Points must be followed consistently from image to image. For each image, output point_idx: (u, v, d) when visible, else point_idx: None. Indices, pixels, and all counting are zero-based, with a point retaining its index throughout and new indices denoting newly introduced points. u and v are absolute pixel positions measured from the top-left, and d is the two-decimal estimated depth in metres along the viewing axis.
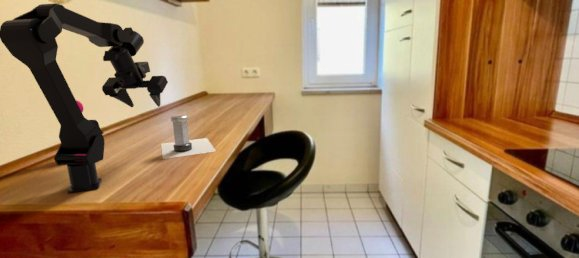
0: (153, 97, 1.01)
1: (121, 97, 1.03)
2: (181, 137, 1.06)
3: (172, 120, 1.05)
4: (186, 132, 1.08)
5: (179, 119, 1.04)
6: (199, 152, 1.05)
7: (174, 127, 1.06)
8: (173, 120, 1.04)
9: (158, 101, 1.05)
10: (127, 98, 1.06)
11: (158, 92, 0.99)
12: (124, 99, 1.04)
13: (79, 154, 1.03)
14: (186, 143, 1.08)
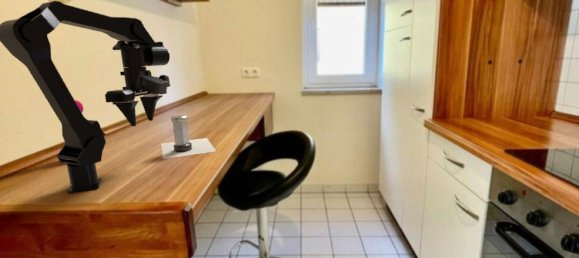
0: None
1: (142, 102, 0.97)
2: (181, 137, 1.06)
3: (172, 120, 1.05)
4: (186, 132, 1.08)
5: (179, 119, 1.04)
6: (199, 152, 1.05)
7: (174, 127, 1.06)
8: (173, 120, 1.04)
9: (128, 118, 0.89)
10: (149, 108, 0.97)
11: None
12: (144, 106, 0.97)
13: None
14: (186, 143, 1.08)
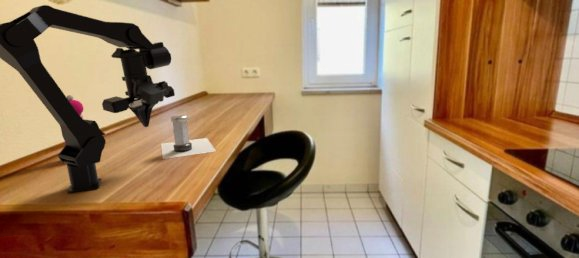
0: None
1: None
2: (181, 137, 1.06)
3: (172, 120, 1.05)
4: (186, 132, 1.08)
5: (179, 119, 1.04)
6: (199, 152, 1.05)
7: (174, 127, 1.06)
8: (173, 120, 1.04)
9: (139, 119, 0.94)
10: (144, 114, 0.94)
11: None
12: None
13: None
14: (186, 143, 1.08)
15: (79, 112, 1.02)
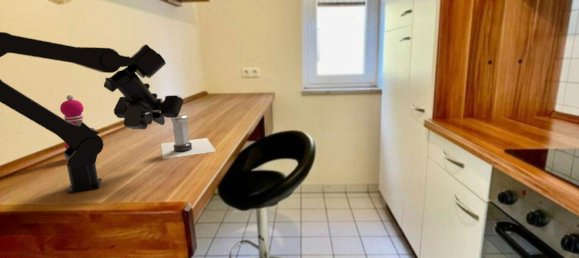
0: None
1: None
2: (181, 137, 1.06)
3: (172, 120, 1.05)
4: (186, 132, 1.08)
5: (179, 119, 1.04)
6: (199, 152, 1.05)
7: (174, 127, 1.06)
8: (173, 120, 1.04)
9: None
10: None
11: None
12: None
13: None
14: (186, 143, 1.08)
15: (79, 112, 1.02)
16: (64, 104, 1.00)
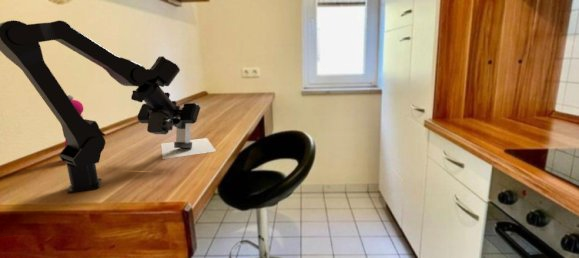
0: None
1: None
2: (183, 134, 1.07)
3: None
4: (188, 130, 1.09)
5: None
6: (199, 152, 1.05)
7: None
8: None
9: None
10: None
11: None
12: None
13: None
14: (187, 140, 1.08)
15: (79, 112, 1.02)
16: None
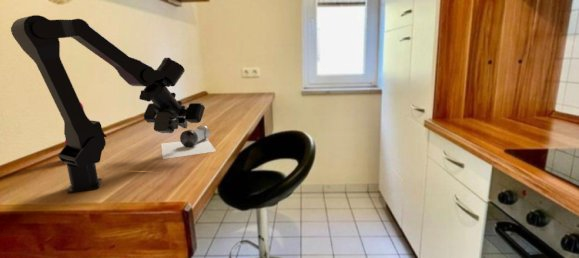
0: None
1: None
2: (196, 132, 1.15)
3: (199, 126, 1.20)
4: (200, 137, 1.16)
5: (206, 127, 1.20)
6: (199, 152, 1.05)
7: (196, 129, 1.18)
8: None
9: None
10: None
11: None
12: None
13: None
14: None
15: None
16: None
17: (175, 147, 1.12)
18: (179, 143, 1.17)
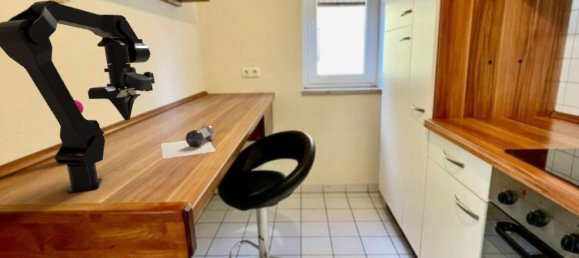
0: None
1: None
2: (204, 135, 1.14)
3: (209, 126, 1.20)
4: (203, 139, 1.16)
5: (214, 131, 1.20)
6: (199, 152, 1.05)
7: (205, 128, 1.17)
8: (210, 127, 1.20)
9: (121, 112, 0.93)
10: None
11: None
12: None
13: (79, 154, 1.03)
14: None
15: None
16: None
17: (175, 147, 1.12)
18: (179, 143, 1.17)
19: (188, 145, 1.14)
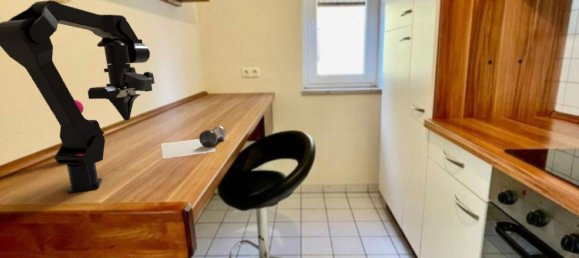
0: None
1: None
2: None
3: (224, 137, 1.19)
4: None
5: None
6: (199, 152, 1.05)
7: (221, 136, 1.17)
8: (224, 138, 1.19)
9: (120, 112, 0.93)
10: None
11: None
12: None
13: (79, 154, 1.03)
14: None
15: None
16: None
17: (175, 147, 1.12)
18: (179, 143, 1.17)
19: (188, 145, 1.14)
